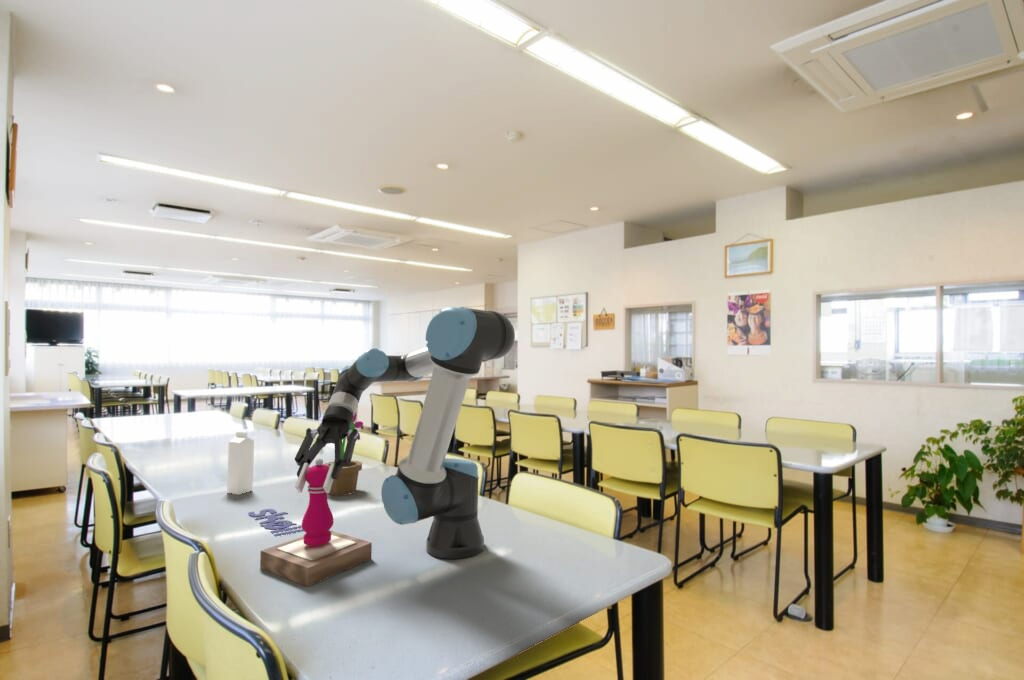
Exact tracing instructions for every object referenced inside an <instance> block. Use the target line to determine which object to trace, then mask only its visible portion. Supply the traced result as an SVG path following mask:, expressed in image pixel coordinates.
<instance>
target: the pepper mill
mask: <svg viewBox="0 0 1024 680" xmlns="http://www.w3.org/2000/svg"><path fill="white" fill-rule="evenodd" d="M314 464H315V465H312V466H310V468H309V469H308V471H307V473H306V483H307V484H308V486H307V493H309V498H308V499H309V500H308V501H309V502H308V506H307V508H306V511H305V513H304V514H303V518H302V521H301V526H302V528H301V529H303V530H304V531H303V532H305V533H304V534H303V536H304V544H306V545H309V546H317V545H322V544H326V543H328V542H329V541H330V540H331V532H330V531H331V529H332V527H333V526H334V522H335V521H334V517H333V512H332V510H331V509H330V506H329V503H328V502H329V501H328V494H327V493H326V492H325V490H324V488H323V485H324V482H325V480H326V477H327V474H328V471H329V467H328V466H326V465H323V464H324V461H323V459H322V458H317V459H315V463H314ZM329 530H330V531H329Z"/></svg>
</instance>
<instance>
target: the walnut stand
mask: <svg viewBox="0 0 1024 680" xmlns="http://www.w3.org/2000/svg"><path fill="white" fill-rule="evenodd" d="M329 531H330V532H331V540H330V541H329V542H328V543H326V544H322V545H317V546H309V545H306V544H304V535H303V536H301V537H297V538H294V539H291V540H288V541H285V542H282V543H279V544H276V545H273V546H271V547H267V548H265V549H262V550H260V558H259V559H260V560H259V563H260V564H259V565H260V566H259V569H262V570H265V571H268V572H270V573H272V574H274V575H278V576H280V577H282V578H285V579H287V580H290V581H292V582H295V583H298V584H299V583H300V584H299V585H302V584H303V586H304V585H305V586H304V587H307V586H308V587H310V586H309V585H311V584H313V583H315V584H317V583H319V582H318V581H320V580H322V581H324V580H326V579H325V578H327V577H329V578H331V577H333V576H335V575H334V574H336V575H338V574H340V573H342V572H341V571H343V572H345V571H346V569H347V570H349V569H351V568H350V567H352V568H353V566H354V567H356V566H359V565H361V564H363V563H365V562H367V560H368V561H370V560H372V551H373V549H372V548H373V547H372V546H373V545H372V544H373V543H372V542H371V541H368V540H364V539H360V538H358V537H354V536H351V535H347V534H345V533H340V532H337V531H333V530H331V529H330V530H329ZM369 559H370V560H369ZM362 562H363V563H362ZM360 563H361V564H360ZM358 564H359V565H358ZM348 568H349V569H348ZM344 570H345V571H344ZM339 572H340V573H339ZM337 573H338V574H337ZM332 575H333V576H332ZM330 576H331V577H330ZM323 579H324V580H323ZM327 579H328V578H327ZM316 582H317V583H316ZM320 582H321V581H320ZM313 585H314V584H313ZM311 586H312V585H311Z"/></svg>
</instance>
